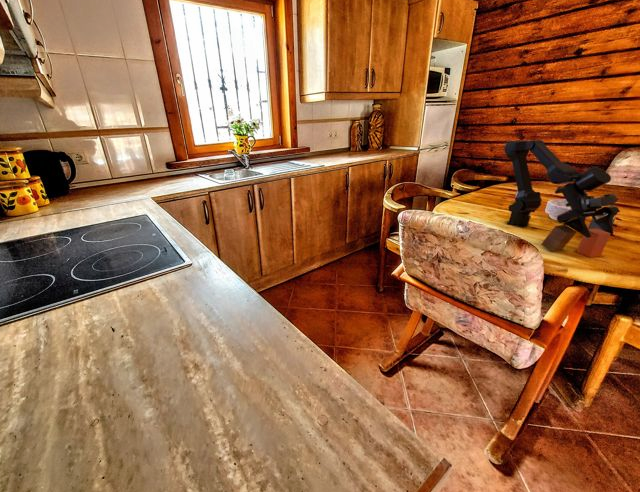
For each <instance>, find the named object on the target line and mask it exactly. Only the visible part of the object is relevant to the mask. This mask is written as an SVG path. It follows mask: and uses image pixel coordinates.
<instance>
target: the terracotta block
mask: <svg viewBox="0 0 640 492" xmlns="http://www.w3.org/2000/svg"><path fill="white" fill-rule="evenodd" d="M588 230H589V232H590V234H591V237H589V238H587V237H585V236H584V235H582V237H581V239H580V241H579V243H578V246H577V248H576V251H575V252H576V253H578V254H581V255H583V256H586V257H588V258H594V257H601V256H602V254H603V252H604V249H605V247H606V245H607V242H608V240H609V238H610V236H611V235H610V234H611V233H608V232H605V231H602V230H599V229H588Z"/></svg>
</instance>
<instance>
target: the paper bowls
mask: <svg viewBox="0 0 640 492" xmlns="http://www.w3.org/2000/svg"><path fill="white" fill-rule="evenodd" d="M567 203H568V202H567V200H566V199H565V198H554V199H549V200H548V201H547V203H546V206H545V208H544V212H545V213H546V214H547V215H549V218H550V219H552V220H554V221H556V222H558V220H557V217H558V215H560V214H562V213H565V212H567V211H569V210H572V209H571V207H570V206H569V207H566V205H565V204H567ZM588 218H590V217H586V219H588ZM586 219H585V220H586Z"/></svg>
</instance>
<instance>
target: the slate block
mask: <svg viewBox="0 0 640 492" xmlns="http://www.w3.org/2000/svg"><path fill="white" fill-rule="evenodd" d="M594 220H595V219H593V218H592V217H591V220H590V222H589V224H588V226H587V228H588V229H599V230H602V229H601V228H600V227H599V226H598V225H597V224H596V223H595V222H594ZM615 221H616V218H613V219H612V224H615ZM602 231H604V230H602Z"/></svg>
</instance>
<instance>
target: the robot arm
mask: <svg viewBox="0 0 640 492" xmlns="http://www.w3.org/2000/svg"><path fill="white" fill-rule="evenodd" d="M503 150H504V153H505V156H506V157H507V158H508V160H510V161H511V163H512V169H513V173H514V178H515V184H516V189H517V191H518V193H517V195H516V194H515V195H516V197H515V196H514V201H515V202H514V203H512V204H510V205H508V212H510V216H509V219H508V221H507V223H506V225H511V226H515V227H520V228H525V227H527V226H528V225H529V224H530V221H531V218H532V215H531V213H536V211H537V209H539V208H540V206H542V201H543V199H542V196H541V192H540V191H536V190H534V189H533V185H532V181H531V180H532V179H531V175H530V171H529V165H528V162H527V156H528V155H529V153H531V154H532V155H533V156H534V157H535V158H536V159H537V160H538V162H539V163H540V164H541V165H542V166H543V167H544V169H545V170H546V177H547V178H548V180H549V182H550V183H551V184H553V185H560V186H557V187H556V190H555V191H554V194H556V195H557V194H562V195H563V197H564V199H566V200H567V202H568V203H567V204H565V205H566V207H569V206H570V207H571V209H572V210H569V211H567V212H565V213H562V214H560V215H558V217H557V220H558V221H557V222H558V224H563V225H566V226H568V227H570V228H571V229H573V230H575V231H576V232H577V233H579V234H581V235H582V236H583V235H584V236H585V237H587V238H589V237H591V234H590V232H589V230H588V226H587V224H586V217H589V218H590V217H591V219H592V218H593V219H595V220H594V222H595V223H596V224H597V225H598V226H599V227H600V228H601V229H602V230H604V231H605V232H608V233H611V234H610V236H613V235H614V226H613V224H614V223H613V224H612V219H615V216H617V215H618V214H619V213H620V212H621V211H620V209H619V207H618V206H615V205H616V203H617V202H618V200H619V198H618V197H617V196H616V195H615V194H614V193H607V194H603V196H600V197H595V196H594V195H589V194H588V192H592V191H594V190H596V189H598V188H600V187H602V186H604V185H606V184H608V183H610V182H611V180H612V177H611V175H610V174H609V173H608V172H607V171H605V170H603V169H601V168H599V166H592V167H590V168H588V170H586V171H584V172H579V170H577V169H576V168H575V167H574V166H572V165H570V164H567V163H565V162H563V161H562V160H561V159H559V157H558V156H556V155H555V153H554V152H553V151H552V150H551V149H550V148H549V147H548V146H547V145H546V144H545V142H544V141H543V140H542V139H531V140H525V139H519V140H518V139H517V140H509V141H507V142H506V144H505V146H504V147H503Z"/></svg>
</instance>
